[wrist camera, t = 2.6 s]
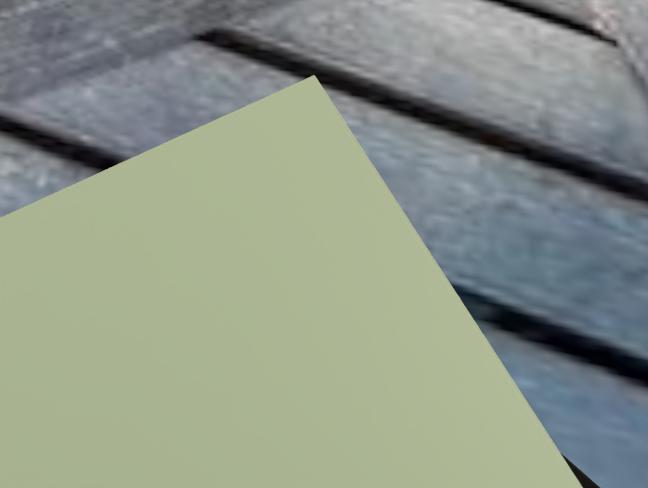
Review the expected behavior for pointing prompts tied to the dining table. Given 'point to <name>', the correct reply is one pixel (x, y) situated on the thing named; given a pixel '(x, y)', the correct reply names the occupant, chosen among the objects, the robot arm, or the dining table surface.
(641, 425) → the dining table surface
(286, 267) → the sage post
